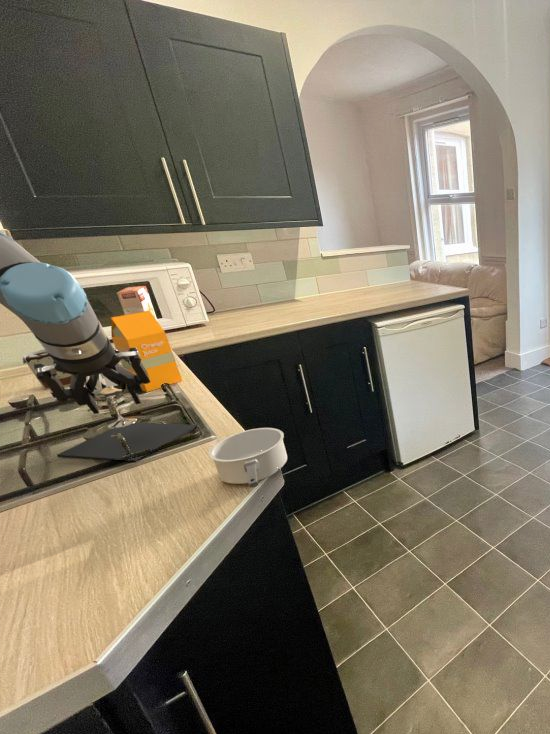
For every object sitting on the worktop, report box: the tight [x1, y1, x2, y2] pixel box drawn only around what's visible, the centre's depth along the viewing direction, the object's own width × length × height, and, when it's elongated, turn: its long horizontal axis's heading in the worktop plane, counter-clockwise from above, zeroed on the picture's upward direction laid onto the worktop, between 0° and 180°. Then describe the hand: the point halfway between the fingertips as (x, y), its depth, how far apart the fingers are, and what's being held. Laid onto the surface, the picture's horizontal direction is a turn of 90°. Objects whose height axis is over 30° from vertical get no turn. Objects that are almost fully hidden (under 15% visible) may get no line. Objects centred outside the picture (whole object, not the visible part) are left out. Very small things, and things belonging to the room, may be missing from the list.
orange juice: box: [110, 310, 183, 393], centre depth 113 cm, size 8×9×20 cm
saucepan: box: [208, 427, 288, 488], centre depth 71 cm, size 12×20×6 cm, turn 33°
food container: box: [22, 348, 71, 391], centre depth 118 cm, size 12×6×10 cm, turn 130°
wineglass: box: [84, 373, 138, 429], centre depth 83 cm, size 6×6×12 cm
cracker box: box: [116, 285, 159, 323], centre depth 149 cm, size 14×6×21 cm, turn 30°
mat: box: [56, 421, 198, 462], centre depth 87 cm, size 18×14×1 cm
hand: (116, 402), depth 86 cm, fingers closed on wineglass, 6 cm apart
